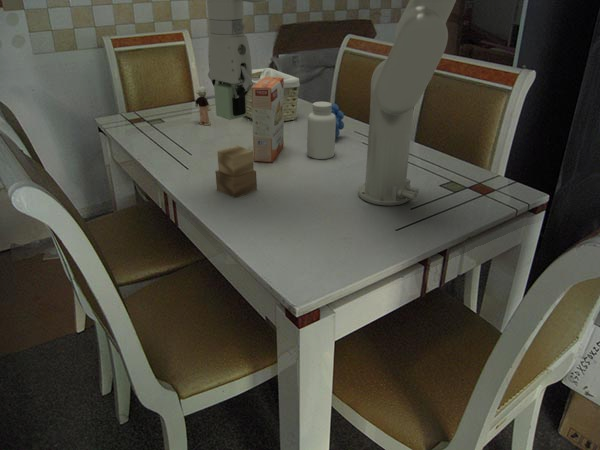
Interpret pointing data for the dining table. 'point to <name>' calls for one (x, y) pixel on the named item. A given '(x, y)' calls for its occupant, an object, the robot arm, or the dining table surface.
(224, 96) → the sage block
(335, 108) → the grapes
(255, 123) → the cracker box
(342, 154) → the dining table surface
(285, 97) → the storage basket
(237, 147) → the tower mid
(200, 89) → the grandmother figurine
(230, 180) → the tower base
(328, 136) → the pill bottle
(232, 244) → the dining table surface
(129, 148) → the dining table surface
